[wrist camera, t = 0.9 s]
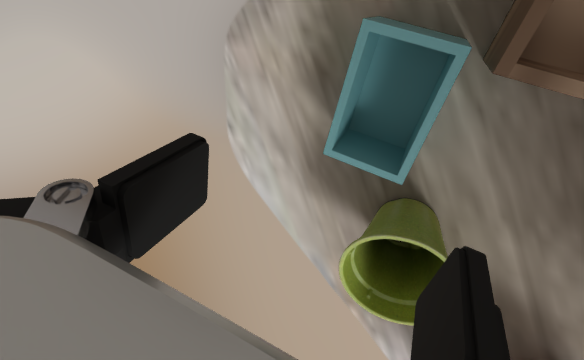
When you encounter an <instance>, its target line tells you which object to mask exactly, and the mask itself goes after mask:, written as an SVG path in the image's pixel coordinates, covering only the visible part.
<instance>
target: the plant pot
mask: <svg viewBox="0 0 584 360" xmlns="http://www.w3.org/2000/svg"><path fill="white" fill-rule="evenodd" d="M395 240H400V241H403V242H398V241H395ZM447 258H448V256H447V253H446V249H445V246H444V242H443V238H442V234H441V229H440V225H439V221H438V219H437V217H436V215H435V213H434V212H433V211H432V210H431V209H430V208H429V207H428V206H427V205H425V204H423V203H421V202H419V201H416V200H413V199H406V198H403V199H398V200H395V201H391V202H387V203H385V204H384V205H383V206H382V207H381V208H380V209H379V210H378V212H377V214H376V215H375V217H374V219H373V220H372V222H371V223H370V225H369V226H368V228H367V229H366V231H365V232H364V234H363V235H362V237H360V238H359V239H357V240H356V241H354V242H353V243H351V244H350V245H349V246H348V247H347V248H346V249H345V251H344V252H343V254H342V256H341V259H340V262H339V275H340V279H341V282H342V284H343V286H344V288H345V290H346V291H347V293H348V294H349V295H350V296H351V298H352V299H353V300H354V301H355V302H356V303H357V304H359V305H360V306H361V307H362V308H364V309H365V310H367V311H368V312H370V313H372V314H374V315H376V316H378V317H380V318H383V319H385V320H387V321H391V322H395V323H399V324H404V325H413V326H414V317H415V306H416V302H417V299H418V297H419V296H420V294H421V293H422V292H423V290H424V289H425V288H426V286H427V285H428V284H429V282H430V281H431V279H432V278H433V277H434V275H435V274H436V273H437V271H438V270H439V269H440V267H441V266H442V265H443V263H444V262H445V261H446V259H447Z"/></svg>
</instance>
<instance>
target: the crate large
mask: <svg viewBox="0 0 584 360" xmlns="http://www.w3.org/2000/svg"><path fill="white" fill-rule="evenodd" d="M483 61H484V62H485V63H486V65H487V66H488V68H489V69H490V70H491V72H492V73H493V74H496V75H500V76H503V77H507V78H510V79H514V80H518V81H521V82H525V83H528V84H532V85H535V86H539V87H542V88H546V89H549V90H553V91H556V92H560V93H563V94H567V95H570V96H574V97H577V98H581V99H584V0H515V2H514V3H513V5H512V7H511V9H510V11H509V13H508V14H507V16H506V18H505V20H504V22H503V24H502V26H501V27H500V29H499V31H498V33H497V35H496V37H495V38H494V40H493V42H492V44H491V46H490V48H489V49H488V51H487V53H486V55H485V57H484V59H483Z"/></svg>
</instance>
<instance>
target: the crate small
mask: <svg viewBox="0 0 584 360" xmlns="http://www.w3.org/2000/svg"><path fill="white" fill-rule="evenodd" d="M471 49H472V47H471V45H470V44H469V42H468V41H467V39H464V38H460V37H456V36H453V35H449V34H445V33H441V32H437V31H434V30H430V29H426V28H422V27H418V26H415V25H411V24H407V23H403V22H399V21H396V20H392V19H388V18H384V17H380V16H377V17H370V18H363V21H362V24H361V27H360V31H359V34H358V38H357V41H356V44H355V48H354V51H353V54H352V58H351V61H350V64H349V68H348V71H347V75H346V78H345V81H344V85H343V88H342V91H341V95H340V98H339V101H338V105H337V108H336V112H335V115H334V118H333V122H332V125H331V128H330V132H329V135H328V138H327V142H326V145H325V149H324V152H323V154H325V155H327V156H330V157H332V158H335V159H337V160H340V161H342V162H345V163H347V164H350V165H352V166H355V167H357V168H360V169H362V170H365V171H368V172H370V173H373V174H375V175H378V176H380V177H383V178H385V179H388V180H390V181H393V182H395V183H398V184H400V185H402V184H403V182H404V180H405V178H406V176H407V174H408V172H409V170H410V168H411V166H412V164H413V162H414V160H415V158H416V157H417V155H418V153H419V151H420V149H421V147H422V145H423V143H424V141H425V139H426V137H427V135H428V133H429V131H430V129H431V127H432V125H433V123H434V121H435V119H436V117H437V115H438V113H439V111H440V109H441V107H442V105H443V104H444V102H445V100H446V98H447V96H448V94H449V92H450V90H451V88H452V86H453V84H454V82H455V80H456V78H457V76H458V74H459V72H460V70H461V68H462V66H463V64H464V62H465V60H466V58H467V56H468V54H469V52H470V51H471Z"/></svg>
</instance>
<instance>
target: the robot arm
mask: <svg viewBox="0 0 584 360" xmlns="http://www.w3.org/2000/svg"><path fill="white" fill-rule="evenodd" d="M208 158H209V145H208V144H207V143H206V140H205V139H204V138H203V137H201V136H198V135H196V134H193V133H189V134H187V135H185V136H183V137H181V138H179V139H177V140H175V141H173V142H171V143H169V144H167V145H165V146H163V147H161V148H159V149H157V150H156V151H153V152H151V153H149V154H147V155H145V156H143V157H141V158H139V159H137V160H136V161H134V162H131V163H129V164H127V165H126V166H124V167H122V168H120V169H118V170H116V171H114V172H112V173H110V174H108V175H106V176H104V177H102V178H100V179H98V184H99V185H98V186H97V187H95V188H94V187H93V185H92V184H91V183H90V182H88V181H85V180H82V179H64V180H60V181H56V182H53V183H51V184H48V185H47V186H45V187H44V188H42V189H41V190H40V191H39V192H38V194H37V196H36V197H28V198H14V199H0V360H298V359H296V358H294V357H292V356H291V355H289V354H287V353H286V352H284V351H282V350H280V349H279V348H277V347H275V346H274V345H272V344H270V343H268V342H267V341H265V340H263V339H262V338H260V337H258V336H256V335H255V334H253V333H251V332H249V331H247V330H246V329H244V328H242V327H241V326H238V325H237V324H235V323H233V322H232V321H230V320H228V319H227V318H225V317H223V316H221V315H220V314H217V313H216V312H214V311H213V310H211V309H209V308H207V307H205V306H204V305H202V304H200V303H199V302H197V301H195V300H193V299H192V298H190V297H188V296H186V295H184V294H183V293H181V292H179V291H178V290H176V289H174V288H172V287H170V286H168V285H167V284H165V283H163V282H162V281H160V280H158V279H156V278H154V277H153V276H151V275H149V274H147V273H145V272H144V271H142V270H140V269H138V268H137V267H135V266H133V265H131V264H130V262H131V261H132V260H133V259H134V258H135V259H137V258H140V257H141V256H143V255H144V254H145V253H146V252H147V251H149V250H150V249H151V248H152V247H153V246H155V245H156V244H157V243H158V242H159V241H161V240H162V239H163V238H164V237H165V236H166V235H168V234H169V233H170V232H171V231H173V230H174V229H175V228H176V227H177V226H178V225H180V224H181V223H182V222H183V221H185V220H186V219H187V218H188V217H189V216H191V215H192V214H193V213H194V212H195V211H196V210H198V209H199V208H200V207H201V206H202V205H203V204H204V203H205V201H206V199H207V187H208V186H207V185H208ZM411 360H510V356H509V350H508V345H507V340H506V335H505V329H504V324H503V319H502V314H501V311H500V308H499V307H498V306H497V305H494V299H493V293H492V287H491V282H490V276H489V270H488V264H487V259H486V255H485V254H484V253H481V252H479V251H476V250H474V249H471V248H469V247H467V246H464V247H462V248H461V249H459V248H455V249H454V250H453V251H452V253H451V254H450V255H449V257H448V258H447V259H446V261H445V262H444V263H443V265H442V266H441V267H440V269H439V270H438V271H437V273H436V274H435V275H434V277H433V278H432V279H431V281H430V282H429V284H428V285H427V286H426V288H425V289H424V290H423V292H422V293H421V294H420V296H419V297H418V299H417V302H416V306H415V317H414V328H413V339H412V350H411Z"/></svg>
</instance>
